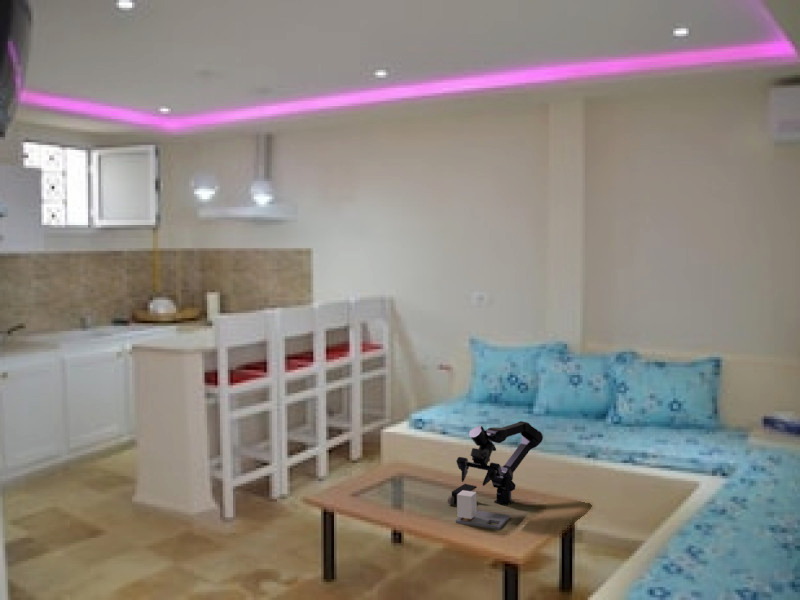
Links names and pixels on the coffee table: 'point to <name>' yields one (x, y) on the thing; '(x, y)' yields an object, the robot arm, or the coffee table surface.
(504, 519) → the socket plate
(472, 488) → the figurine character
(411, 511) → the coffee table surface
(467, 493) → the pale grey block
